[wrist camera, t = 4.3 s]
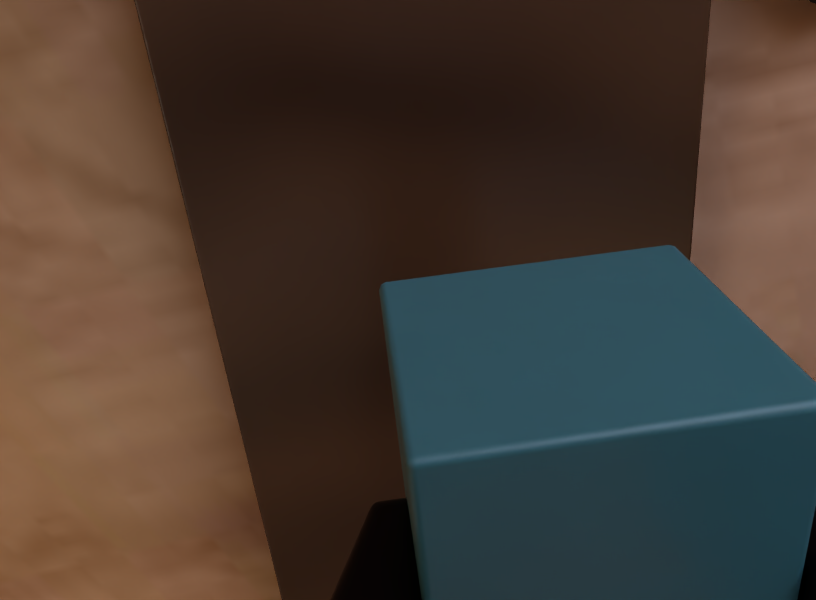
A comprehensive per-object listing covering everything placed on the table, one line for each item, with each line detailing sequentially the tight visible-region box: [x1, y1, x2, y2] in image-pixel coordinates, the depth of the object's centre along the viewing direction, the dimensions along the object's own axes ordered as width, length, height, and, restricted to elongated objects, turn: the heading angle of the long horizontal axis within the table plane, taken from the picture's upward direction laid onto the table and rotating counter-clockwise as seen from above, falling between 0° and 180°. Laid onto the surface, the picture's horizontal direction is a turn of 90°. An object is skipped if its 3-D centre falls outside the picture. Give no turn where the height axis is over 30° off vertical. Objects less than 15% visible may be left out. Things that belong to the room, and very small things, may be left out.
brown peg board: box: [134, 0, 711, 600], centre depth 15 cm, size 19×10×6 cm, turn 5°
